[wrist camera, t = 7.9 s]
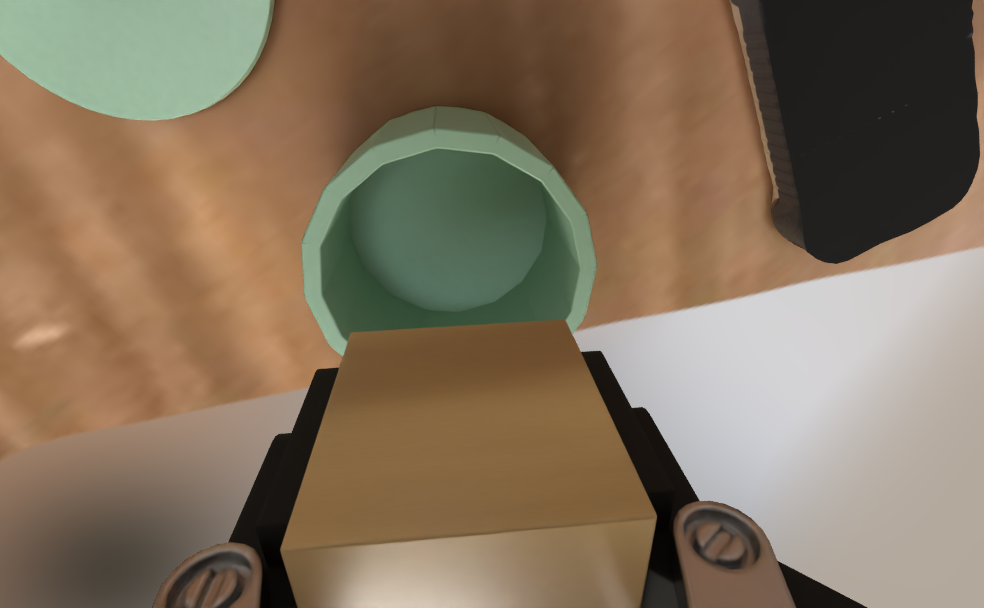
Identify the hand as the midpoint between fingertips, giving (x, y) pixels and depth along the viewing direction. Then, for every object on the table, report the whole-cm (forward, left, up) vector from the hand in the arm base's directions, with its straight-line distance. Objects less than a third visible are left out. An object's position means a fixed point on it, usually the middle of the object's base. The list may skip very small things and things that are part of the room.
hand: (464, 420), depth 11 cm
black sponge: (-18, +7, -17) cm, 26 cm away
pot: (+1, +1, -17) cm, 17 cm away
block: (0, 0, 0) cm, 0 cm away
